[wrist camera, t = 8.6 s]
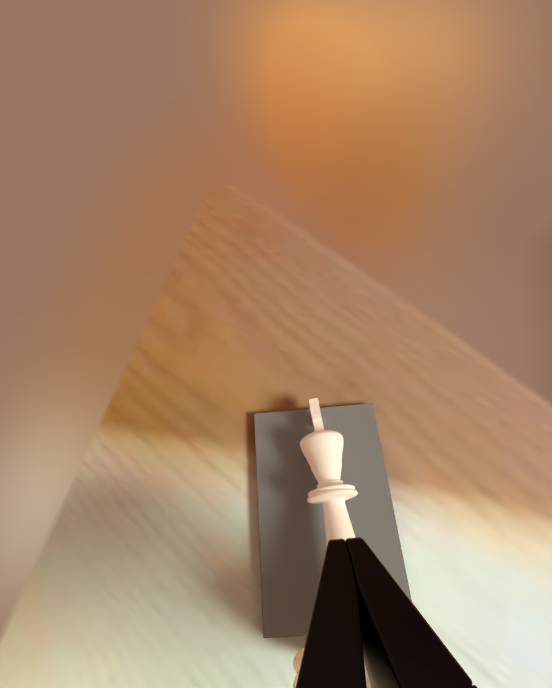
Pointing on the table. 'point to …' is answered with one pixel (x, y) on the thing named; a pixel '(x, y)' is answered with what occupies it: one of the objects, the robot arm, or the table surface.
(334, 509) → the chess piece
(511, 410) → the table surface
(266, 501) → the slate mat
